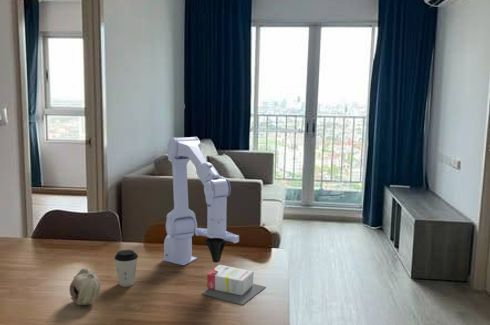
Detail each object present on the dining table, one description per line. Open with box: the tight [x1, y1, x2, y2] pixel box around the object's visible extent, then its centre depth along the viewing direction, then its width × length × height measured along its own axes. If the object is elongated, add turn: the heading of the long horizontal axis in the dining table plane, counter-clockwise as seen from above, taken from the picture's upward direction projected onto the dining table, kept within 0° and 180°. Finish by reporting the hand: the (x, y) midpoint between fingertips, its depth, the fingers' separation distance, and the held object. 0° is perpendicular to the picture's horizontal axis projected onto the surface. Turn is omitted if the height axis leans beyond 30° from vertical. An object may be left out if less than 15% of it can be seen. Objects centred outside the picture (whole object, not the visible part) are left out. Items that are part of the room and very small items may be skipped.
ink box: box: [206, 264, 254, 296], centre depth 139 cm, size 9×5×12 cm
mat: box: [201, 283, 266, 306], centre depth 138 cm, size 14×14×1 cm
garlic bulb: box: [68, 267, 101, 306], centre depth 127 cm, size 9×8×10 cm
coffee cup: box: [114, 249, 139, 288], centre depth 141 cm, size 7×7×10 cm
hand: (216, 261), depth 140 cm, fingers closed
